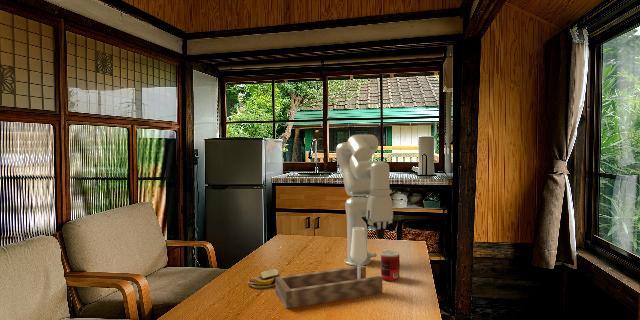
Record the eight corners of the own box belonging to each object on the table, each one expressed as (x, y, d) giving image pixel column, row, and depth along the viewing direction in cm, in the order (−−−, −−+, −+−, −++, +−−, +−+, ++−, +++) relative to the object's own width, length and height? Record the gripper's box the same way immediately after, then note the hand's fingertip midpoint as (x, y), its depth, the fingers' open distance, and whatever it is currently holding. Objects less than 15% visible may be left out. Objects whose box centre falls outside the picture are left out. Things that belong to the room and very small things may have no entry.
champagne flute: (356, 292, 152) (356, 230, 151) (347, 287, 158) (346, 227, 157) (371, 289, 155) (370, 228, 154) (361, 284, 161) (361, 225, 160)
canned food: (400, 276, 169) (400, 251, 169) (398, 282, 162) (398, 256, 161) (383, 274, 172) (382, 249, 171) (379, 280, 164) (379, 254, 164)
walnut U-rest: (363, 279, 166) (363, 265, 165) (382, 293, 151) (382, 277, 150) (275, 292, 153) (275, 277, 152) (286, 308, 138) (286, 291, 137)
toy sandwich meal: (248, 279, 168) (248, 268, 168) (280, 277, 170) (279, 267, 170) (247, 290, 156) (246, 279, 156) (281, 288, 158) (281, 276, 157)
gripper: (391, 191, 164) (391, 234, 165) (359, 193, 159) (359, 238, 160) (401, 193, 157) (401, 238, 158) (367, 195, 152) (367, 242, 152)
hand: (380, 238), depth 159 cm, fingers closed
